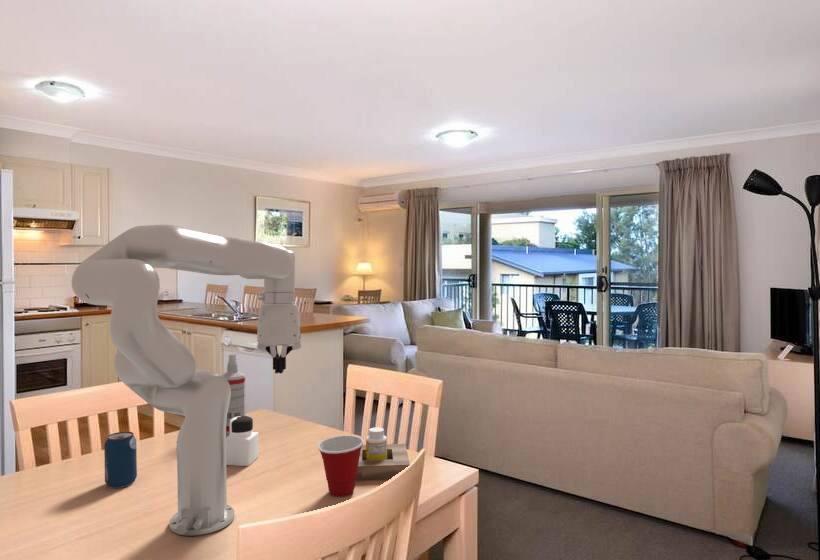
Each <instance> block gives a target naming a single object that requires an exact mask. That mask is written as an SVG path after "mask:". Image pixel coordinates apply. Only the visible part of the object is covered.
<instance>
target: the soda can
mask: <svg viewBox="0 0 820 560" xmlns="http://www.w3.org/2000/svg"><path fill="white" fill-rule="evenodd" d="M134 434H135V433H134V432H133V431H117V432H113V433H111V434H108V435H107V436H106V438H107V439H106V440H105V442H104V448H103V449H104V451H103V452H104V483H105V485H106V486H107V487H108V488H110V487H111V488H110V489H121V488H120V487H122V488H126V487H129V486H131V485H133V484H134V482H135V481H136V478H137V477H138V465H137V464H138V463H137V462H138V460H137V458H138V456H137V454H138V453H137V450H138V449H137V439H136V437H135V435H134ZM128 485H129V486H128ZM125 486H126V487H125Z"/></svg>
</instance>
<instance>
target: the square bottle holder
mask: <svg viewBox="0 0 820 560" xmlns="http://www.w3.org/2000/svg"><path fill="white" fill-rule="evenodd" d="M408 455H409V454H408V450H407V446H406V443H387V460H366V444H363V445H362V447H361V451H360V457H359V463H358V470H357V477H356V481H370V480H371V481H373V480H375V481H376V480H378V481H379V480H391V479H390V478H392V477H393V476H395V475H396V474H398V473H399V472H401V471H402V470H404V469H405V468H406V467H408V466H409V465H410V466H411V463H410V459H409V456H408Z"/></svg>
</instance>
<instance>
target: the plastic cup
mask: <svg viewBox="0 0 820 560" xmlns="http://www.w3.org/2000/svg"><path fill="white" fill-rule="evenodd" d="M362 445H364V440H363V438H361V437H360V436H357V435H337V436H332V437H329V438H326V439H324V440H321V441H320V442H318V444H317V450H318V451H319V452H320V455H321V458H322V462H323V467H324V473H325V478H326V482H327V487H328V491H329V495H331V496H333V495H334V496H333V497H337V496H340V497H339V498H341V497H347V496H350V495H352V494H353V493H354V491H355V487H356V481H357V480H356V477H357V470H358V463H359V457H360V451H361V447H362Z"/></svg>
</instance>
